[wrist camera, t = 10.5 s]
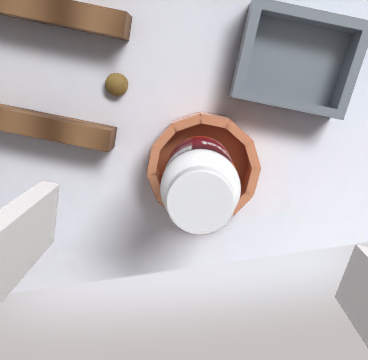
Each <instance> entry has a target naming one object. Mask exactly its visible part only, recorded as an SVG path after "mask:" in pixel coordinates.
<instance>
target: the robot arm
mask: <svg viewBox="0 0 368 360" xmlns="http://www.w3.org/2000/svg"><path fill="white" fill-rule="evenodd" d="M58 194H59V184H55V183H50V182H45V181H41V182H39V183H38V184H36V185H35V186H33V187H32V188H30V189H29V190H27V191H26V192H24V193H23V194H22V195H20V196H19V197H17V198H16V199H14V200H13V201H11V202H10V203H8V204H7V205H5V206H4V207H2V208H1V209H0V304H1V303H2V301H4V299H5V298H6V297H7V296H8V295H9V293H10V292H11V291H12V290H13V289H14V288H15V286H16V285H17V284H18V283H19V282H20V281H21V279H22V278H23V277H24V276H25V275H26V273H27V272H28V271H29V270H30V269H31V268H32V266H33V265H34V264H35V263H36V262H37V261H38V259H39V258H40V257H41V256H42V255H43V253H44V252H45V251H46V250H47V249H48V248H49V246H50V245H51V244H52V243H53V242H54V233H55V223H56V214H57V204H58ZM335 298H336V299H337V301H338V302H339V304H340V306H341V307H342V309H343V310H344V312H345V313H346V315H347V316H348V318H349V320H350V321H351V322H352V324H353V326H354V327H355V329H356V330H357V332H358V333H359V335H360V336H361V338H362V340H363V341H364V343H365V344H366V346H367V347H368V247H365V246H361V245H355V247H354V250H353V252H352V255H351V257H350V260H349V262H348V265H347V268H346V270H345V272H344V275H343V277H342V280H341V283H340V285H339V287H338V290H337V292H336V295H335Z"/></svg>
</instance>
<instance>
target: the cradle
mask: <svg viewBox="0 0 368 360" xmlns="http://www.w3.org/2000/svg"><path fill="white" fill-rule="evenodd" d="M0 14H2V15H6V16H11V17H16V18H21V19H26V20H31V21H35V22H40V23H45V24H50V25H55V26H60V27H65V28H69V29H74V30H79V31H84V32H89V33H94V34H99V35H103V36H108V37H113V38H118V39H123V40H128V41H129V37H130V29H131V22H132V16H131V15H130V14H129V13H128V12H126V11H121V10H117V9H112V8H107V7H102V6H97V5H93V4H88V3H83V2H78V1H73V0H0ZM105 85H106V89H107V91H108V92H109V93H110V94H112V95H115V96H118V95H122V94H124V93H125V92H126V91H127V89H128V81H127V79H126V78H125V77H124V76H123V75H122V74H118V73H113V74H111V75H109V76H108V77H107V79H106V82H105ZM0 131H4V132H10V133H15V134H20V135H25V136H30V137H35V138H40V139H45V140H50V141H55V142H60V143H65V144H70V145H75V146H80V147H85V148H90V149H95V150H100V151H105V152H109V151H110V150H111V149H112V148H114V146H115V139H116V131H117V127H114V126H109V125H104V124H99V123H94V122H89V121H84V120H79V119H74V118H69V117H64V116H59V115H54V114H49V113H44V112H39V111H34V110H29V109H24V108H19V107H14V106H9V105H4V104H0Z"/></svg>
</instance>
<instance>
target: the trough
mask: <svg viewBox="0 0 368 360" xmlns="http://www.w3.org/2000/svg"><path fill="white" fill-rule="evenodd" d="M367 47H368V20H365V19H360V18H355V17H350V16H346V15H341V14H336V13H331V12H327V11H322V10H317V9H312V8H308V7H303V6H298V5H293V4H289V3H284V2H279V1H274V0H252V1H251V2H250V5H249V9H248V13H247V18H246V22H245V27H244V31H243V35H242V40H241V44H240V49H239V53H238V57H237V62H236V66H235V71H234V75H233V79H232V84H231V88H230V93H229V96H230V97H233V98H238V99H243V100H247V101H252V102H257V103H262V104H267V105H272V106H277V107H282V108H287V109H292V110H296V111H301V112H306V113H311V114H316V115H321V116H326V117H331V118H336V119H341V120H343V119H344V116H345V113H346V110H347V107H348V104H349V101H350V98H351V95H352V92H353V89H354V86H355V83H356V80H357V77H358V74H359V71H360V68H361V65H362V62H363V59H364V56H365V53H366V50H367Z"/></svg>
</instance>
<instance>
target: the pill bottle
mask: <svg viewBox="0 0 368 360" xmlns="http://www.w3.org/2000/svg"><path fill="white" fill-rule="evenodd" d="M160 193H161V199H162V202H163V204H164V206H165V208H166V210H167V211H168V214H169V216H170V218H171V220H172V221H173V222H174V224H175V225H176V226H178V227H179V228H180V229H182V230H183V231H186V232H188V233H191V234H196V235H204V234H210V233H213V232H215V231H217V230H219V229H221V228H222V227H223V226H225V225H226V224H227V222H228V221H229V220H230V218H231V216H232V214H233V212H234V210H235V208H236V206H237V204H238V202H239V199H240V194H241V184H240V179H239V176H238V173H237V171H236V169H235V167H234V164H233V162H232V160H231V157H230V155H229V153H228V151H227V150H226V149H225V147H224V146H223V145H222V144H221V143H220V142H218V141H216V140H215V139H213V138H210V137H206V136H194V137H190V138H188V139H185V140H184V141H182V142H181V143H179V144H178V145H177V146H176V147H175V149H174V150H173V151H172V153H171V155H170V158H169V160H168V163H167V165H166V168H165V171H164V173H163V176H162V179H161V184H160Z"/></svg>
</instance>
